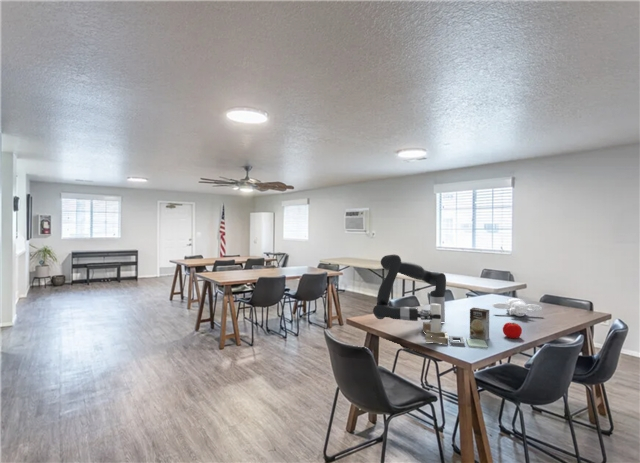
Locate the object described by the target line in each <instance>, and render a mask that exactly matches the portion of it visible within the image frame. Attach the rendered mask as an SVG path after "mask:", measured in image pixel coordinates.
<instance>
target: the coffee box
mask: <svg viewBox="0 0 640 463" xmlns="http://www.w3.org/2000/svg"><path fill="white" fill-rule="evenodd" d="M469 338H471V339H478V340H485V341H488V339H490V309H485V308H479V307H472V308H470V309H469Z"/></svg>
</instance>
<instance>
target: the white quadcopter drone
mask: <svg viewBox="0 0 640 463" xmlns="http://www.w3.org/2000/svg"><path fill="white" fill-rule="evenodd" d="M492 307H493V308H494V309H497V310H498V309H499V310H507V311H508V312H509V313H508V314H509V316H514V315H515V316H517V317H523V316H525V315H526V314H525V313H527V312H533V311H541V310H542V309H543V308H542V306H541V305H538V304H530V303H529V304H527V303H526V302H525V301H524V300H523V299H520V298H516V297H512V298H508V299H507V300H506V301H505V302H495V303H493V304H492Z"/></svg>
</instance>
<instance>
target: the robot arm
mask: <svg viewBox="0 0 640 463" xmlns="http://www.w3.org/2000/svg"><path fill="white" fill-rule="evenodd" d="M380 265H381V268H383V269H384V270H386V271H388V272H387V275H386V276H385V278H384V279H383V281H382V282H381V284H380V286H379V289H378V292H377V296H376V297H377V298H376V305H375V306H374V307H373V308H372V313H373V315H374V317H375V318H376V319H378V320H383V319H384V320H385V318H388V319H389V318H390V319H392V320H402V321H411V322H418V321H419V320H418V319H420V320H422V321H423V320H426V321H430V320H432V319H433V318H434V319H441V322H445V319H446V318H445V316H446V314H445V312H446V309H445V308H446V304H445V303H446V302H445V301H446V300H445V296H446V295H445V293H446V290H447V289H446V288H447V277H446V274H445V273H443V272H437V271H430V270H426V269H425V268H424V267H423V266H421V265H419V264H416V263H414V262H408V261H402V259H401V256H400V255H399V254H396V253H395V254H387V255H384V256H383V257H382V258H381V259H380ZM398 274H401V275H403V276H406V277H407V278H411V279H414V280H419V281H423V282H424V283H427V284H428V285H429V286H430V285H431V286H433V287H434V286H435V288H434V290H432V291H430V293H429V305H430V304H432V303H437V304H441V315H437V314H430V309H421V310H419V308H418V307H413V306H390V305H389V301H390V297H391V293H392V289H393V285H394V283H395V281H396V278H397V276H398ZM445 323H446V322H445Z"/></svg>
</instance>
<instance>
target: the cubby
mask: <svg viewBox="0 0 640 463" xmlns="http://www.w3.org/2000/svg"><path fill="white" fill-rule="evenodd" d="M431 336H432V337H431ZM426 342H433V343H442V344H448V345H449V338H448V332H447V331H441V333H433V332H431V331H426V334H425V343H426Z"/></svg>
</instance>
